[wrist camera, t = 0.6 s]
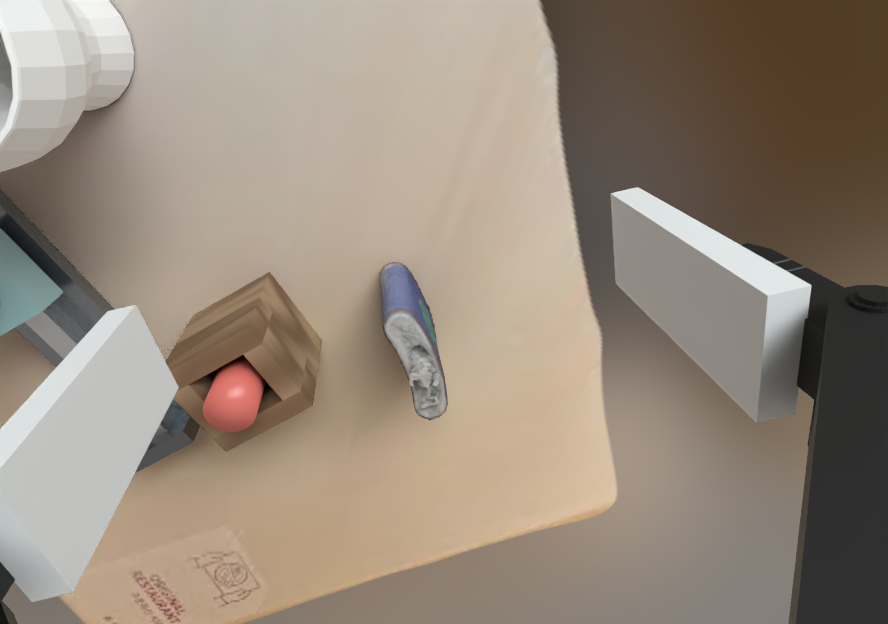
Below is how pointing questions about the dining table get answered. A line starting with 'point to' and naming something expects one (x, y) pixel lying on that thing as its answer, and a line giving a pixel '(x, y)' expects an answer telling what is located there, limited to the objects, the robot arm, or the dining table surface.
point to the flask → (413, 338)
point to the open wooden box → (249, 355)
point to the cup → (56, 71)
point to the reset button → (234, 396)
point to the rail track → (79, 322)
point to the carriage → (21, 286)
